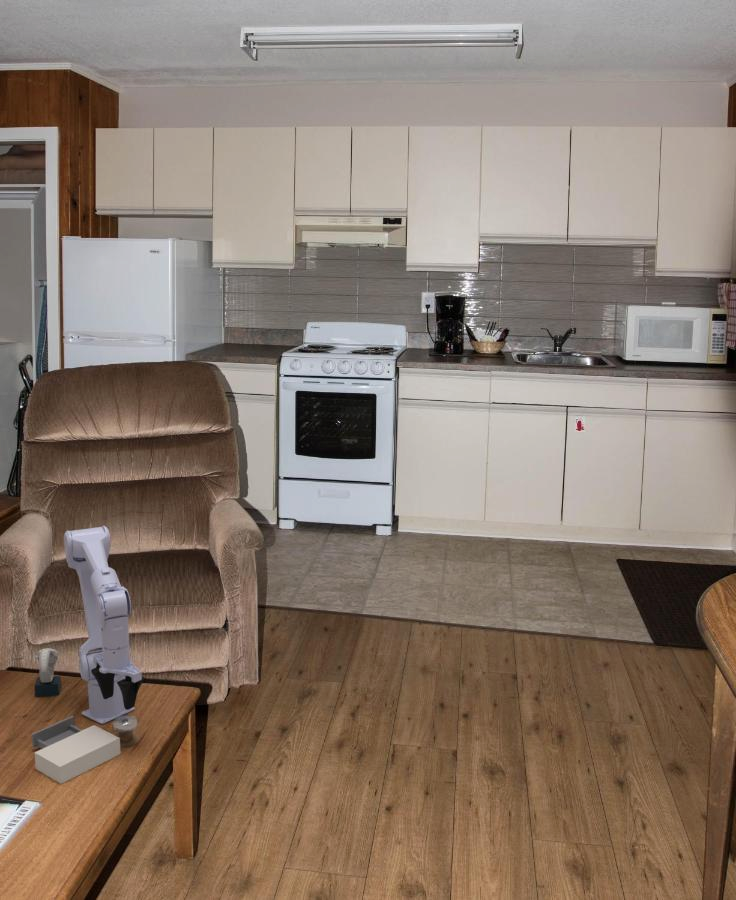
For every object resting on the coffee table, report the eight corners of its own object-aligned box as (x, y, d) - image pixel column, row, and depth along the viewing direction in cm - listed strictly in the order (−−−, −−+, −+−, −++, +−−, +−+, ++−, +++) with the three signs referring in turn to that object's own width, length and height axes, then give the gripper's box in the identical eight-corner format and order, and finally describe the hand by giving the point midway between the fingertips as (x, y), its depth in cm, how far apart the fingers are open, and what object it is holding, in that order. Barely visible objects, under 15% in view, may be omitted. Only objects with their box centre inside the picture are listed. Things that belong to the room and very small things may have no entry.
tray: (32, 747, 206) (31, 733, 205) (73, 728, 214) (72, 715, 213) (56, 760, 200) (55, 747, 200) (97, 740, 208) (96, 727, 208)
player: (35, 768, 199) (33, 752, 198) (94, 740, 210) (93, 724, 209) (61, 783, 193) (60, 766, 192) (120, 754, 205) (119, 737, 204)
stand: (128, 732, 214) (127, 717, 213) (144, 740, 210) (143, 725, 210) (107, 742, 209) (107, 727, 209) (123, 750, 206) (123, 735, 205)
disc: (127, 718, 213) (127, 712, 212) (141, 725, 210) (141, 719, 209) (108, 727, 209) (108, 721, 208) (123, 734, 206) (122, 728, 205)
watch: (62, 684, 237) (59, 642, 235) (57, 698, 229) (54, 656, 227) (39, 685, 236) (36, 644, 234) (33, 700, 228) (30, 658, 226)
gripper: (79, 641, 206) (83, 699, 209) (121, 659, 197) (124, 719, 200) (106, 631, 211) (110, 688, 214) (148, 648, 203) (151, 707, 205)
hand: (118, 702), depth 208 cm, fingers open, 7 cm apart
